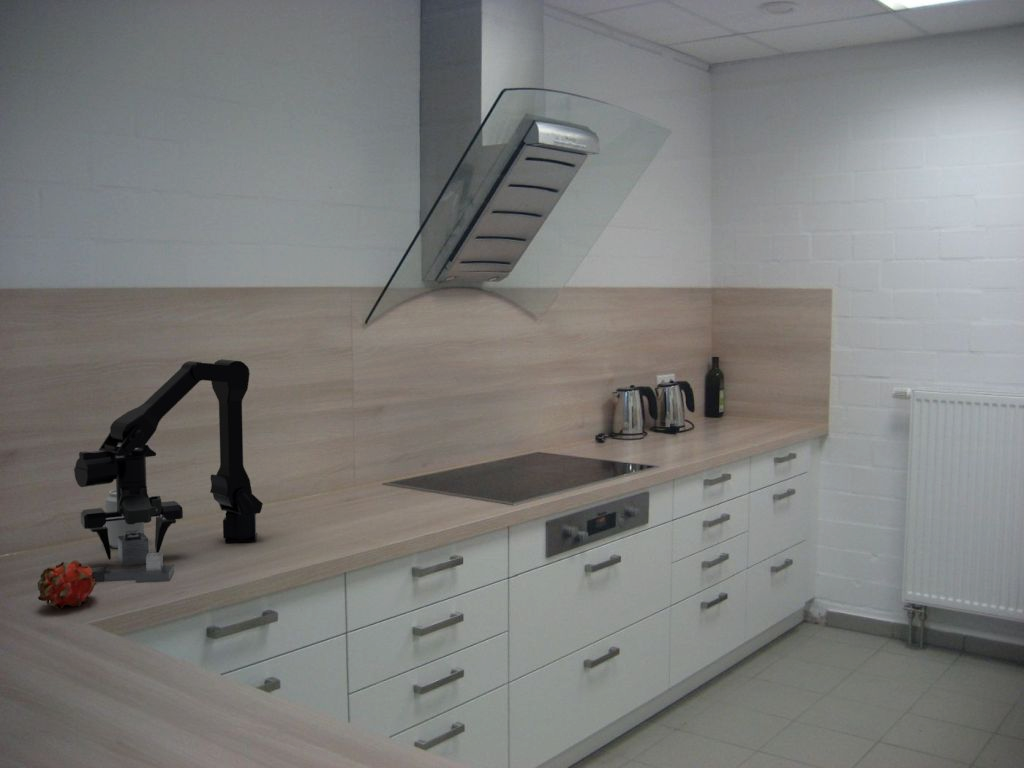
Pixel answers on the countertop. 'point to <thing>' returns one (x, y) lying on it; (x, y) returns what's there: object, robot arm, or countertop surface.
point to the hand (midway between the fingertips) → (133, 556)
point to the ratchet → (138, 571)
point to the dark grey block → (132, 548)
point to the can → (118, 522)
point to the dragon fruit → (66, 584)
